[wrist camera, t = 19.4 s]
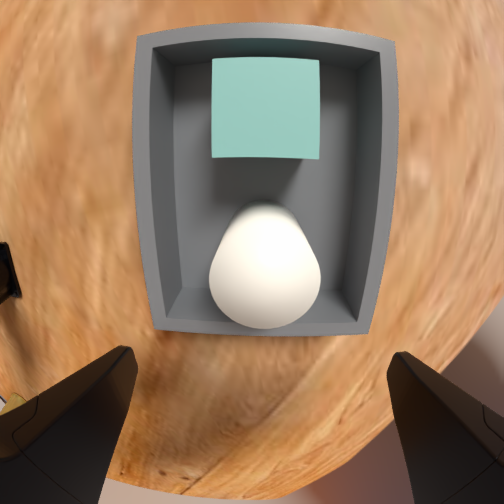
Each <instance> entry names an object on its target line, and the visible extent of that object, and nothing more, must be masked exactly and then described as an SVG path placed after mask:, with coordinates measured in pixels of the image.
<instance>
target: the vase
mask: <svg viewBox="0 0 504 504" xmlns="http://www.w3.org/2000/svg"><path fill="white" fill-rule="evenodd" d="M25 402H27V401H26V400H24V399H23V398H22V397H21V396H19V395H18V394H16V393H12V395H11V397H10V399H9V400H8V402H7V403H6V404H5V406H4V407H3V409H2V411H1V412H0V415H2V414H4V413H6V412H8V411H10V410H12V409H14V408H16V407H18V406H20V405H22V404H24V403H25Z"/></svg>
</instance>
